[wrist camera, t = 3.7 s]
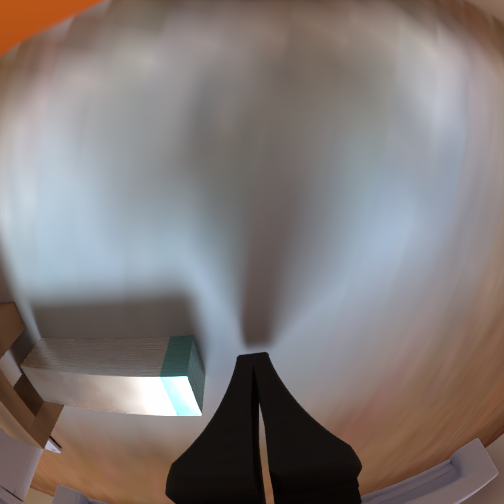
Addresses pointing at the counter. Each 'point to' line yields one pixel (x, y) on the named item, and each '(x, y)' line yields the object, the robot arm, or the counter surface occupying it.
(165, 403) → the white teal bar
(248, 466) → the robot arm
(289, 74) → the counter surface
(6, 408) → the angled brown block
